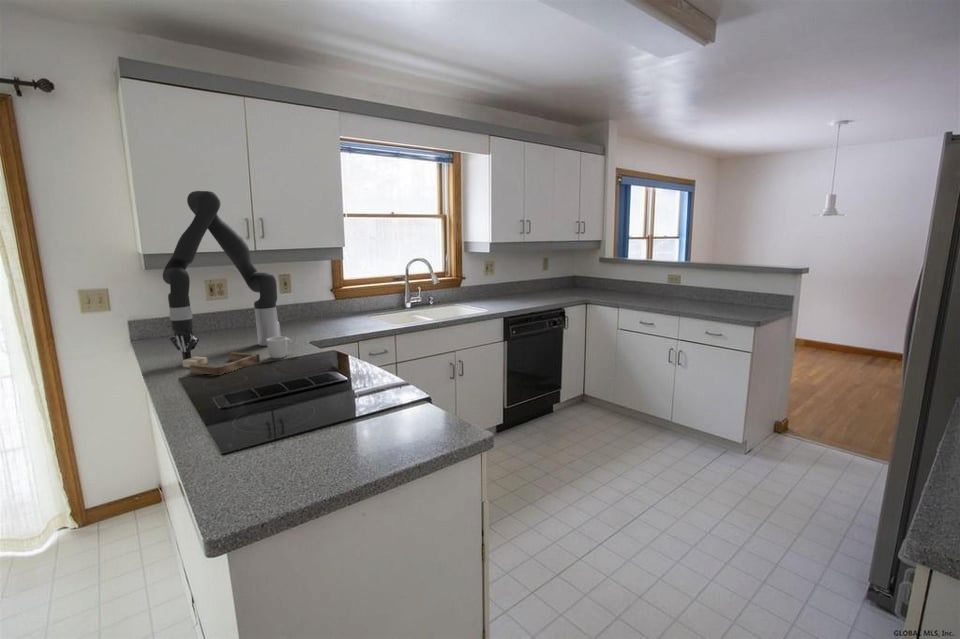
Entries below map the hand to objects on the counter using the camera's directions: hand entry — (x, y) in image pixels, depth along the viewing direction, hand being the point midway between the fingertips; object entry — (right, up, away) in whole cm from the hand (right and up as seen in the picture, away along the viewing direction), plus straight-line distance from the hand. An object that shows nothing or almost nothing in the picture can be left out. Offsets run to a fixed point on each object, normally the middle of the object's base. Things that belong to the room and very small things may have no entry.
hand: (187, 360), depth 194 cm
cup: (+34, +1, +9) cm, 35 cm away
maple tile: (+4, -2, -1) cm, 5 cm away
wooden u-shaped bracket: (+19, -2, -6) cm, 20 cm away
